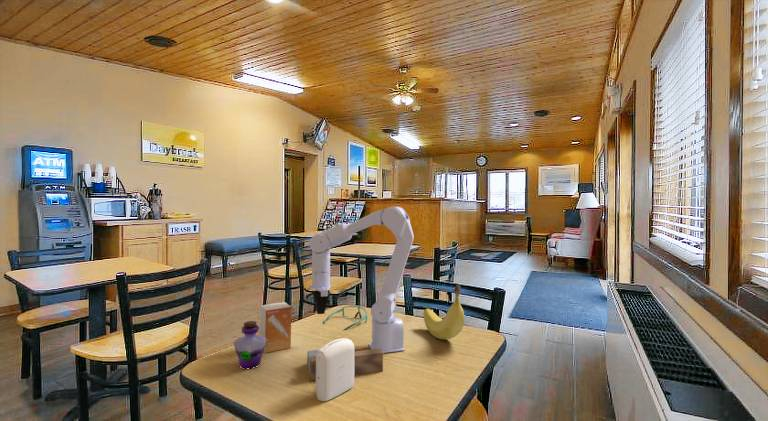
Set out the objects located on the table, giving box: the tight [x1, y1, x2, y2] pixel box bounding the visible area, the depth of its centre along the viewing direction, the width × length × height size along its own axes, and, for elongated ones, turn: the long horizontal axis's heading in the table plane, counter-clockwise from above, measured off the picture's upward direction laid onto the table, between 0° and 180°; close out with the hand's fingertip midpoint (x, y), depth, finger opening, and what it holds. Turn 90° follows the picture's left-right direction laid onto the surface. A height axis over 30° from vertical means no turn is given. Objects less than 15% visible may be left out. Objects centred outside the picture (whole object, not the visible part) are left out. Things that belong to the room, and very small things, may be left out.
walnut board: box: [309, 349, 384, 382], centre depth 100 cm, size 19×3×5 cm, turn 108°
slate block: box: [306, 349, 319, 373], centre depth 102 cm, size 6×7×4 cm
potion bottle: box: [233, 320, 267, 370], centre depth 104 cm, size 9×9×12 cm
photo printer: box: [315, 338, 355, 402], centre depth 90 cm, size 10×4×12 cm, turn 140°
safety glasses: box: [322, 304, 368, 331], centre depth 141 cm, size 14×15×5 cm
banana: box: [422, 284, 465, 341], centre depth 126 cm, size 23×6×20 cm, turn 22°
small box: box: [259, 301, 292, 354], centre depth 116 cm, size 8×6×13 cm
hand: (320, 313), depth 121 cm, fingers closed
